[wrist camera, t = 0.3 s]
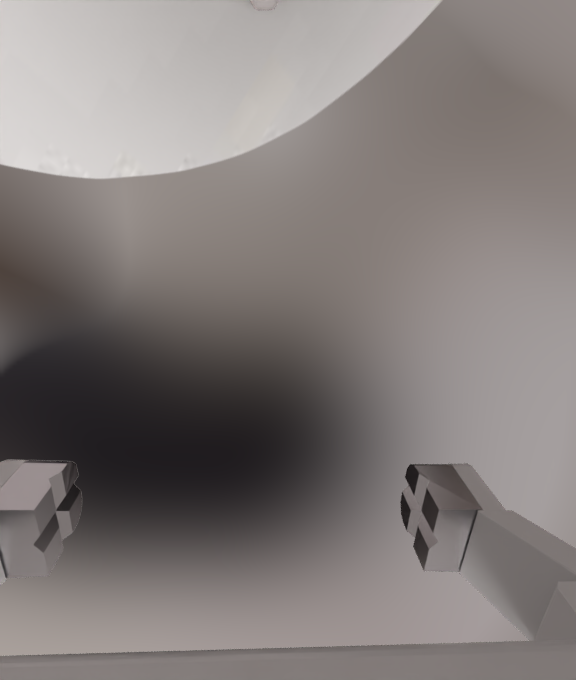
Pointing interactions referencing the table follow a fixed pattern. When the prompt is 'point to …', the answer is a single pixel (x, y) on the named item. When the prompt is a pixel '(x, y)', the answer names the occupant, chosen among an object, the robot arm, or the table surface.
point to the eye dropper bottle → (264, 4)
